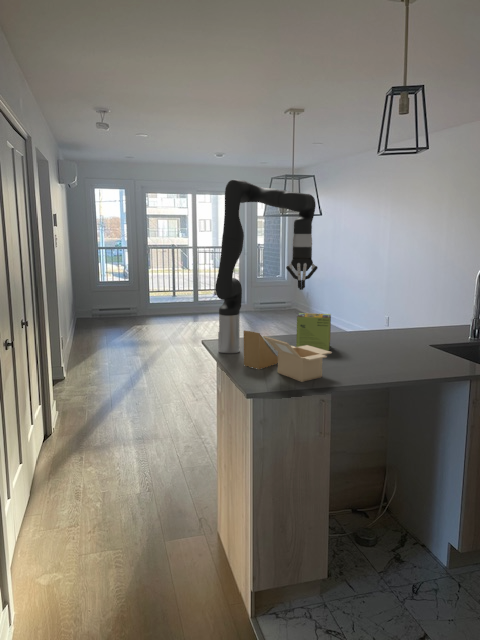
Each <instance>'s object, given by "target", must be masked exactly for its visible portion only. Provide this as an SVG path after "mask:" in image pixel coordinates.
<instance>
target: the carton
mask: <svg viewBox="0 0 480 640" xmlns="http://www.w3.org/2000/svg"><path fill="white" fill-rule="evenodd" d="M290 346H291V347H292V348H293V349H294V350H295V351H296V352H297V353H298V354H299V356H300V357H301V358H298V357H295V356H291V355H288V354H285V353H282V352H279V351H277V356H278V364H277V373H278V374H280V375H282V376H285V377H287V378H291V379H294V380H295V381H298V382H301V383H304V382H308V381H311V380H317V379H320V378H322V377H323V359H326V358H328V355H330V354H332V353H333V352H332V351H330V350H329V351H326V350H323V349H319V348H316V347H312V346H309V345H305V346H300V347H296V346H294V345H290ZM273 349H274V348H273ZM273 351H276V350H275V349H274V350H273Z"/></svg>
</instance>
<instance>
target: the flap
mask: <svg viewBox="0 0 480 640" xmlns="http://www.w3.org/2000/svg"><path fill="white" fill-rule="evenodd" d="M263 339H264V340H265V341H266V342H268V343H269V345H271V346H272V348H273V349H275V350H274V351H277V352H278V351H279V352H282V353H285V354H288V355H291V356H295V357H298V358H301V357H300V356H299V354H298V353H297V352H296V351H295V350H294V349H293V348H292V347H291V346H292V345H290V344H289V342H286V341H283V340H280V339H276V338H272V337H269V336H265V335H264V336H263Z"/></svg>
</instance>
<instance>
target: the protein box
mask: <svg viewBox="0 0 480 640" xmlns="http://www.w3.org/2000/svg"><path fill="white" fill-rule="evenodd" d="M331 322H332V314H331V313H310V312H309V313H306V312H304V313H303V312H300V313H298V314H297V316H296V337H295V338H296V339H295V340H296V343H295V345H296V346H295V347H300V346H305V345H309V346H312V347H316V348H319V349H323V350H326V351H330V347H331V346H330V345H331V327H332V323H331Z"/></svg>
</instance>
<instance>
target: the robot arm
mask: <svg viewBox="0 0 480 640" xmlns="http://www.w3.org/2000/svg"><path fill="white" fill-rule="evenodd" d="M244 203H259V204H264V205H267V206H270V207H275V208H277V209H286V210H290V211H292V212H297V213H298V216H297V217H298V218H296V219H295V220H294V221H293V237H292V259H291V262H290V264H288V265H286V270H287V271H288V272H289V273H290V275H291V276H292V278H293V279H294V280H297V288H298V289H299V291H300V290H301V291H303V290H304V289H305V288H306V280H309V279H310V278H311V277H312V276H313V274H314V273H315V272H316V271H317V270H318V265H315V264H314V263H313V259H312V258H313V256H312V255H313V237H312V235H313V234H312V233H313V230H312V229H313V224H312V223H313V220H314V216H315V211H316V208H317V207H316V199H315V197H314V195H312V194H310V193H303V192H293V191H289V190H284V189H279V188H270V187H262V186H258V185H256V184H252V183H250V182H248V181H246V180H241V179H230V180H229V181H228V182H227V184H226V185H225V189H224V215H223V216H224V217H223V230H222V237H221V248H220V250H221V251H220V257H219V258H220V259H219V266H218V270H217V271H218V273H217V277H216V282H215V288H214V290H215V294H216V296H217V298H218V299H219V300H223V304H222V305H221V306H220V307H219V308H218V323H219V324H218V335H217V337H218V338H217V340H218V342H217V344H218V353H222V354H236V353H237V354H238V353H239V352H240V351H241V350H240V348H241V347H240V340H241V338H240V335H241V334H240V331H241V330H240V323H241V322H240V320H241V319H240V317H241V316H240V313H241V312H240V311H241V308H242V300H243V299H242V298H243V297H242V296H243V289H242V284H241V282H240V280H239V279H238V278H236V277H233V276H234V271H235V268H236V265H237V263H238V260H239V259H240V256H241V254H242V252H243V248H244V247H243V246H244V239H245V235H244V233H245V232H244V229H243V225H242V222H241V218H240V208H241V207H240V206H241V204H244ZM310 268H311V271H310V272H309V273H308V274H307V272H308V271H309V269H310ZM293 269H294V270H295V271H296V272H297V275H296V274H295V271H294V270H293Z"/></svg>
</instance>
